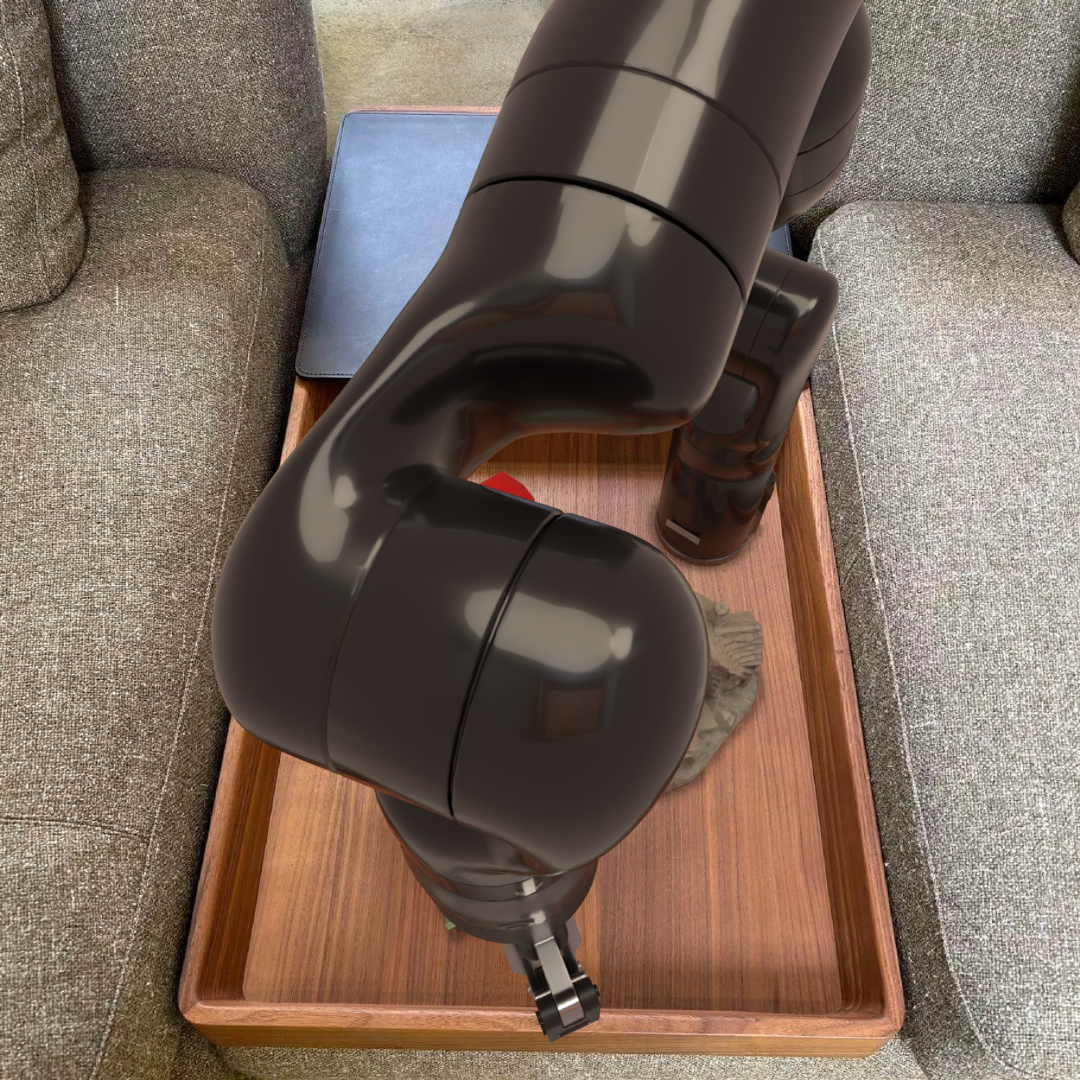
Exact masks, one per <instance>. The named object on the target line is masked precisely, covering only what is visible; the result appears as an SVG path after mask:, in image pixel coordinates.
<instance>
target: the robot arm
mask: <svg viewBox="0 0 1080 1080" xmlns="http://www.w3.org/2000/svg"><path fill="white" fill-rule="evenodd" d="M865 6H866V5H865V4H864V0H552V2H551V4H550V5H549V7H548V8H547V10H546V11H545V13H544V15H543V16H542V18H541V19H540V21H539V23H538V24H537V26H536V28H535V30H534V32H533V33H532V37H531V38H530V40H529V43H528V45H527V47H526V49H525V51H524V52H523V55H522V57H521V58H520V60H519V64H518V66H517V68H516V70H515V72H514V75H513V77H512V79H511V82H510V84H509V87H508V89H507V91H506V94H505V96H504V99H503V102H502V104H501V107H500V110H499V112H498V115H497V117H496V119H495V122H494V124H493V127H492V128H491V132H490V134H489V136H488V139H487V142H486V144H485V147H484V150H483V152H482V155H481V157H480V159H479V162H478V165H477V167H476V170H475V172H474V175H473V177H472V179H471V182H470V185H469V187H468V190H467V192H466V194H465V197H464V199H463V203H462V205H461V207H460V209H459V213H458V214H457V217H456V219H455V222H454V224H453V227H452V230H451V233H450V235H449V237H448V240H447V242H446V244H445V247H444V248H443V251H442V252H441V254H440V256H439V257H438V259H437V260H436V262H435V264H434V265H433V267H432V268H431V269H430V271H429V273H428V274H427V276H426V277H425V279H424V280H423V281H422V282H421V284H420V285H419V286H418V287H417V289H416V291H415V292H414V293H413V294H412V295H411V297H410V298H409V300H408V301H407V302H406V304H405V305H404V307H402V309H401V310H400V312H399V313H398V315H397V316H396V317H395V318H394V319H393V321H392V323H391V324H390V325H389V327H387V330H386V331H385V332H384V334H383V335H382V337H381V338H380V340H378V342H377V343H376V345H375V346H374V348H373V349H372V350H371V352H370V354H368V357H366V359H364V361H363V363H362V364H361V365H360V366H359V368H358V370H357V371H355V373H354V374H353V376H351V378H350V379H349V381H347V383H346V384H345V386H344V387H343V388H342V390H340V392H339V394H338V395H337V396H336V397H335V398H334V400H333V401H332V402H331V403H330V404H329V406H328V407H327V408H326V409H325V410H324V412H323V413H322V414H321V415H320V416H319V418H318V419H317V420H316V421H315V423H314V424H313V425H312V427H311V428H310V429H309V430H308V431H307V432H306V434H305V435H303V437H302V439H301V440H300V441H299V442H298V443H297V445H296V446H295V447H294V448H293V450H292V451H291V452H290V453H289V455H288V456H287V457H286V459H285V460H284V461H283V463H282V464H281V465H280V466H279V467H278V469H277V470H276V472H275V473H274V474H273V476H272V477H271V479H270V480H269V482H268V483H267V484H266V486H265V487H264V488H263V490H262V491H261V493H260V494H259V496H257V498H256V500H255V502H254V503H253V504H252V505H251V507H250V509H249V511H248V512H247V514H246V516H245V518H244V520H243V521H242V523H241V525H240V527H239V528H238V530H237V532H236V534H235V536H234V538H233V539H232V542H231V545H230V547H229V548H228V551H227V554H226V557H225V559H224V562H223V565H222V567H221V571H220V574H219V577H218V581H217V584H216V588H215V593H214V598H213V606H212V616H211V624H210V641H211V643H210V644H211V661H212V665H213V670H214V674H215V679H216V683H217V684H216V685H217V687H218V691H219V693H220V696H221V697H222V700H223V701H224V703H225V706H226V708H227V710H228V712H229V713H230V715H231V716H232V718H233V719H234V720H235V722H236V723H237V724H238V725H239V726H240V727H241V728H242V729H243V730H244V731H246V732H247V733H248V734H249V735H250V736H252V737H254V738H256V739H257V740H259V741H260V742H262V743H263V744H265V745H267V746H269V747H270V748H272V749H273V750H276V751H279V752H281V753H284V754H286V755H288V756H290V757H293V758H295V759H298V760H300V761H302V762H305V763H308V764H310V765H312V766H315V767H318V768H320V769H323V770H325V771H328V772H330V773H332V774H335V775H339V776H341V777H343V778H346V779H348V780H350V781H353V782H356V783H357V784H360V785H363V786H365V787H368V788H370V789H373V791H374V795H375V798H376V801H377V805H378V806H379V809H380V811H381V813H382V815H383V817H384V820H385V822H386V824H387V825H388V828H389V829H390V831H391V833H392V834H393V836H394V837H395V839H396V840H397V841H398V844H399V846H400V849H401V852H402V855H403V857H404V860H405V862H406V864H407V866H408V868H409V870H410V872H411V873H412V874H413V876H414V878H415V879H416V881H417V882H418V884H419V885H420V887H422V889H423V890H424V891H425V893H426V894H427V896H428V897H429V898H430V900H431V901H432V902H433V903H434V905H435V906H436V907H437V909H438V910H439V911H440V912H441V914H442V915H443V917H444V916H445V917H446V918H447V919H448V920H449V921H450V922H452V923H453V924H454V925H455V926H457V927H458V928H459V929H461V930H462V931H461V932H464V933H466V934H468V935H470V936H472V937H474V938H476V939H479V940H482V941H486V942H490V943H496V944H501V945H502V948H503V950H504V953H505V956H506V959H507V962H508V964H509V967H510V969H511V971H512V972H513V973H514V974H516V975H525V977H526V980H527V983H526V984H525V987H526V990H527V993H528V995H529V996H532V997H533V999H534V1003H535V1005H536V1008H537V1010H536V1011H534V1013H535V1016H536V1020H537V1021H538V1024H539V1026H540V1029H541V1031H542V1034H543V1036H544V1037H545V1036H547V1039H548V1041H549V1044H550V1043H553V1042H555V1041H557V1040H559V1039H561V1038H563V1037H565V1036H569V1035H571V1034H572V1033H574V1032H576V1031H579V1030H580V1029H582V1028H586V1027H587V1026H589V1025H591V1024H593V1023H596V1022H597V1021H600V1016H601V1007H602V1005H601V1003H600V999H599V998H600V997H601V993H600V990H599V987H598V985H597V983H593V982H592V979H591V978H590V976H588V974H587V971H586V969H583V966H582V964H581V961H580V960H577V956H576V953H575V952H576V950H577V949H578V948H579V947H580V946H581V943H582V936H581V934H580V931H579V928H578V925H577V921H576V918H575V914H576V912H577V911H578V910H579V908H580V907H581V906H582V904H583V903H584V901H585V900H586V898H587V896H588V894H589V893H590V890H591V888H592V886H593V883H594V881H595V877H596V875H597V870H598V864H599V860H600V859H601V858H602V857H604V856H606V855H607V854H608V853H609V852H611V851H612V850H613V849H615V847H617V846H618V845H619V844H620V843H621V842H623V841H624V840H625V839H626V838H627V837H628V836H630V834H631V833H632V832H633V831H634V830H635V829H636V828H637V827H638V825H639V824H641V822H642V821H643V820H644V819H645V818H646V816H648V815H649V814H650V812H651V811H652V810H653V808H654V807H655V805H656V804H657V803H658V801H659V799H661V797H662V796H663V795H664V793H665V792H664V791H665V790H666V789H667V787H668V786H669V784H670V783H671V781H672V779H673V778H674V776H675V774H676V772H677V771H678V769H679V767H680V765H681V763H682V761H683V759H684V757H685V755H686V753H687V751H688V749H689V746H690V744H691V742H692V739H693V737H694V735H695V732H696V729H697V726H698V723H699V721H700V717H701V714H702V710H703V706H704V702H705V697H706V692H707V686H708V679H709V670H710V648H709V636H708V631H707V626H706V623H705V620H704V616H703V613H702V609H701V606H700V603H699V601H698V599H697V597H696V595H695V593H694V591H695V590H693V588H692V586H691V584H690V582H689V580H688V579H687V578H686V577H685V575H684V574H683V573H682V571H681V570H680V568H679V567H678V565H677V564H676V563H675V562H673V561H672V560H671V559H670V557H668V556H667V555H666V554H665V553H664V552H663V551H662V550H661V549H659V548H658V547H656V546H655V545H653V544H652V543H651V542H649V541H648V540H645V539H643V538H641V537H640V536H637V535H636V534H633V533H631V532H630V531H627V530H625V529H622V528H619V527H617V526H614V525H610V524H607V523H604V522H602V521H597V520H595V519H592V518H589V517H586V516H582V515H579V514H576V513H574V512H564V511H563V510H562V509H561V508H557V507H554V506H551V505H548V504H545V503H541V502H539V501H536V500H535V501H532V500H529V499H526V498H523V497H519V496H516V495H513V494H510V493H507V492H503V491H500V490H497V489H494V488H491V487H488V486H484V485H481V484H480V483H478V482H474V481H471V480H469V479H470V478H471V477H472V475H474V473H476V472H477V471H478V470H479V469H480V468H481V467H482V466H483V465H484V464H485V463H486V462H487V461H489V460H490V459H491V458H492V457H494V456H495V455H496V454H497V453H499V452H500V451H501V450H503V449H504V448H505V447H506V446H508V445H510V444H512V443H513V442H515V441H517V440H520V439H523V438H525V437H530V436H535V435H536V436H537V435H543V434H559V433H560V434H565V433H566V434H567V433H568V434H594V435H609V436H646V435H654V434H655V435H656V434H662V433H666V432H670V431H672V434H671V439H670V443H669V448H668V454H667V459H666V464H665V469H664V474H663V479H662V485H661V490H660V495H659V500H658V503H657V506H656V509H655V514H654V529H655V533H656V536H657V538H658V540H659V542H660V543H661V546H663V547H664V548H665V550H666V551H667V552H669V554H671V555H672V556H673V557H675V558H677V559H679V560H680V561H682V562H685V563H688V564H690V565H694V566H695V565H696V566H704V567H705V566H708V567H709V566H715V565H716V566H717V565H720V564H723V563H727V562H728V561H731V560H732V559H734V558H735V557H736V556H738V555H739V554H740V553H741V552H742V551H743V549H744V548H745V546H746V544H747V543H748V539H749V537H750V536H752V535H753V534H756V533H757V531H758V529H759V526H760V524H761V521H762V518H763V516H764V514H765V511H766V508H767V505H768V503H769V502H770V501H771V498H772V496H773V494H774V490H775V485H776V483H777V474H776V472H775V471H774V467H775V464H776V462H777V459H778V458H779V457H778V456H779V453H780V451H781V448H782V446H783V443H784V440H785V437H786V435H787V433H788V430H789V427H790V425H791V421H792V419H793V417H794V414H795V412H796V408H797V406H798V403H799V401H800V399H801V396H802V393H803V390H804V388H805V385H806V382H807V380H808V378H809V376H810V374H811V372H812V369H813V368H814V365H815V363H816V362H817V359H818V357H819V355H820V353H821V351H822V349H823V346H824V345H825V342H826V340H827V338H828V336H829V333H830V331H831V329H832V326H833V324H834V321H835V318H836V315H837V311H838V308H839V303H840V297H841V296H840V294H841V291H840V284H839V281H838V278H837V277H836V276H835V274H833V273H832V272H831V271H828V270H826V269H825V268H822V267H820V266H817V265H815V264H812V263H809V262H807V261H804V260H801V259H799V258H796V257H794V256H791V255H789V254H786V253H784V252H781V251H779V250H776V249H774V248H771V247H768V246H767V245H768V242H769V240H770V237H771V234H772V233H773V232H774V231H775V232H776V230H779V229H780V228H783V227H784V226H785V225H787V224H789V223H791V222H792V221H794V220H795V219H796V218H798V217H799V216H801V215H802V214H804V213H805V212H806V211H808V210H810V209H811V208H812V207H813V206H814V205H815V204H817V202H819V201H820V200H821V198H823V197H824V195H826V194H827V192H828V191H829V190H830V189H831V188H832V187H833V185H834V184H835V183H836V182H837V180H838V179H839V177H840V175H841V174H842V172H843V170H844V168H845V166H846V164H847V162H848V160H849V157H850V154H851V151H852V147H853V144H854V140H855V135H856V132H857V128H858V124H859V119H860V116H861V111H862V107H863V103H864V98H865V94H866V91H867V86H868V82H869V78H870V77H869V76H870V72H871V67H872V60H873V57H872V56H873V44H872V43H873V41H872V30H871V25H870V20H869V16H868V13H867V10H866V7H865Z"/></svg>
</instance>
